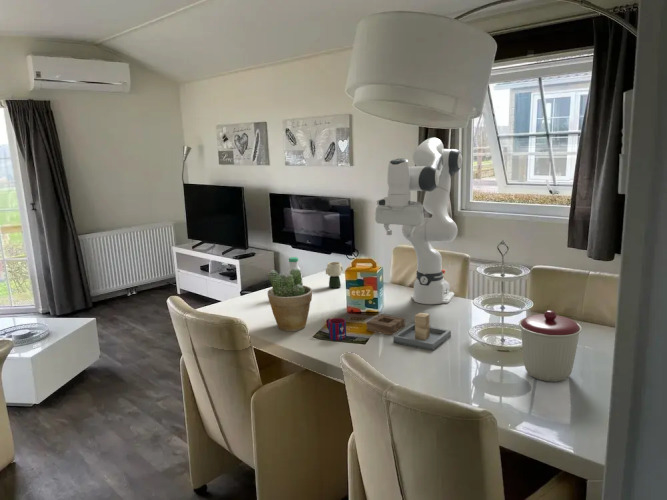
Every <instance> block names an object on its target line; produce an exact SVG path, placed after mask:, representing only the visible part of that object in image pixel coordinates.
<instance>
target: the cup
mask: <svg viewBox="0 0 667 500" xmlns="http://www.w3.org/2000/svg"><path fill="white" fill-rule="evenodd" d="M325 325H326V328H327V330H328V339H330V340H332V341H342V340H345V339H346V338H347V320H346V319H345V318H343V317H333V318H327V319H326V323H325Z"/></svg>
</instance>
